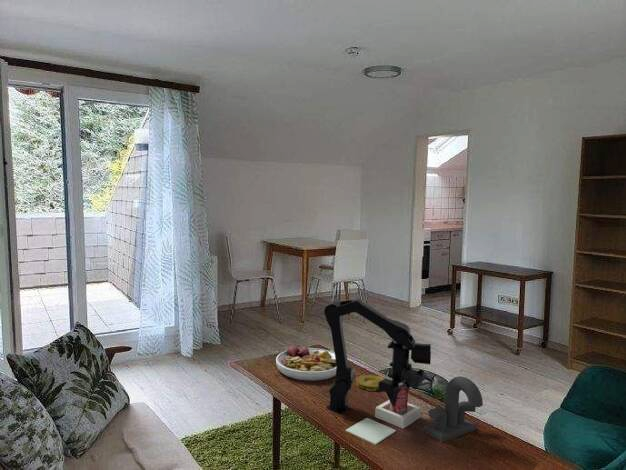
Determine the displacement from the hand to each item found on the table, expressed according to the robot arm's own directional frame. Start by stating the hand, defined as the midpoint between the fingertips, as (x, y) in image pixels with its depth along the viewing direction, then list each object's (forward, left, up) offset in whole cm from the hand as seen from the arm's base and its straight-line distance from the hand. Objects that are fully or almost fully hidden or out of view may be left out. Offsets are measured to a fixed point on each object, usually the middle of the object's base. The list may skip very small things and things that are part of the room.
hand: (398, 403), depth 166 cm
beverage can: (0, 0, -5) cm, 5 cm away
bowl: (+10, +52, -6) cm, 53 cm away
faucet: (+4, -21, -5) cm, 22 cm away
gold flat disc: (+16, +23, -6) cm, 29 cm away
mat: (-15, +1, -5) cm, 16 cm away
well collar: (0, 0, -5) cm, 5 cm away
